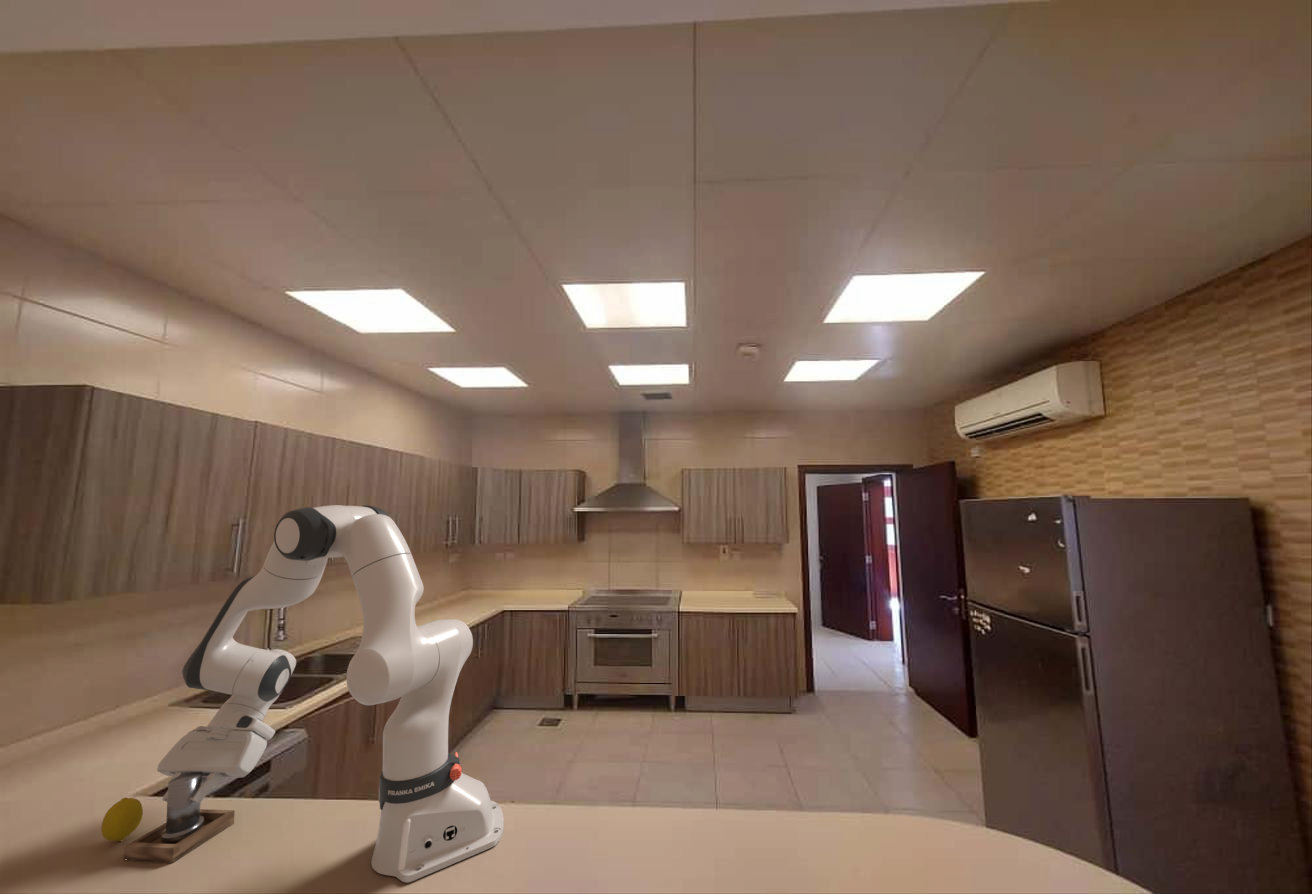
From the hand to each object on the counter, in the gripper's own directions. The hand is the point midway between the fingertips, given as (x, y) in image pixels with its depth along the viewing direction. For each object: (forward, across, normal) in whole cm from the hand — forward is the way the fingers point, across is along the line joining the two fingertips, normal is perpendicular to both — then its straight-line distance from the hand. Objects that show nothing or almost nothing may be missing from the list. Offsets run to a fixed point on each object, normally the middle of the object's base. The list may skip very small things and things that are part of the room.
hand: (180, 801), depth 94 cm
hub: (+4, 0, +5) cm, 6 cm away
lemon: (+6, -14, +5) cm, 16 cm away
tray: (+5, 0, +6) cm, 8 cm away
